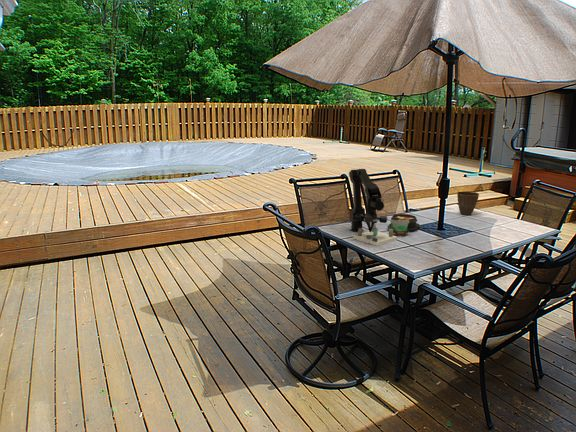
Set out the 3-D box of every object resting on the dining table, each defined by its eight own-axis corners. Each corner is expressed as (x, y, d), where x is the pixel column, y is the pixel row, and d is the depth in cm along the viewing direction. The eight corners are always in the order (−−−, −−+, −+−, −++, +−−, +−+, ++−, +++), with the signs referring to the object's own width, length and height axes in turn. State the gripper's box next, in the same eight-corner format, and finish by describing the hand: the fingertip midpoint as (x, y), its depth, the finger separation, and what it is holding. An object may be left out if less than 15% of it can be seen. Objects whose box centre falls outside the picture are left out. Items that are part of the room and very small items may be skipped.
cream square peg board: (353, 238, 262) (353, 228, 260) (372, 233, 273) (373, 223, 271) (377, 245, 248) (378, 235, 246) (396, 239, 259) (397, 229, 258)
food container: (394, 237, 264) (395, 221, 262) (389, 234, 270) (390, 219, 267) (412, 235, 267) (413, 220, 265) (407, 233, 273) (408, 217, 271)
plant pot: (480, 216, 314) (483, 195, 310) (461, 217, 312) (464, 195, 308) (469, 211, 329) (472, 191, 325) (451, 212, 327) (453, 191, 323)
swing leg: (369, 238, 254) (369, 230, 252) (365, 237, 256) (365, 229, 254) (378, 236, 259) (378, 228, 258) (374, 235, 261) (375, 227, 260)
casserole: (404, 235, 269) (405, 222, 267) (380, 229, 282) (380, 216, 280) (426, 228, 284) (427, 215, 282) (402, 222, 298) (403, 210, 296)
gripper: (353, 208, 251) (352, 234, 255) (385, 211, 245) (383, 237, 249) (357, 204, 261) (356, 229, 265) (388, 207, 255) (386, 232, 259)
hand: (370, 232), depth 259 cm, fingers closed
